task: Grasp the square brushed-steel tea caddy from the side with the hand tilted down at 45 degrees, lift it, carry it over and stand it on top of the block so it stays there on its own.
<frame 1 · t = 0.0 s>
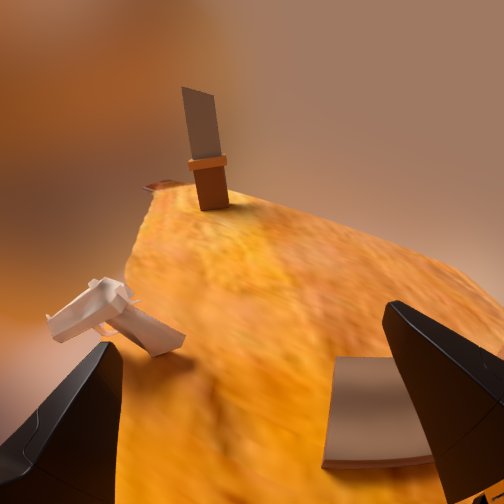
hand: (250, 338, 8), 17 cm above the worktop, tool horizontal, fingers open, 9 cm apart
block: (382, 419, 19), on the worktop
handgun: (110, 345, 30), on the worktop
knife: (215, 207, 67), on the worktop
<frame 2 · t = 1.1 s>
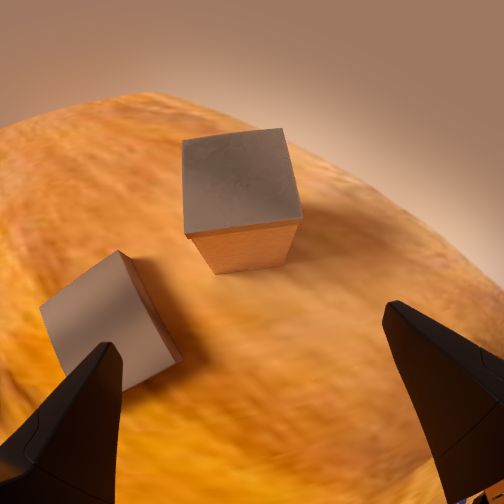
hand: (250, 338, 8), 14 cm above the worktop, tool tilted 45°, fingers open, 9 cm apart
tin: (244, 237, 24), on the worktop
block: (112, 334, 22), on the worktop
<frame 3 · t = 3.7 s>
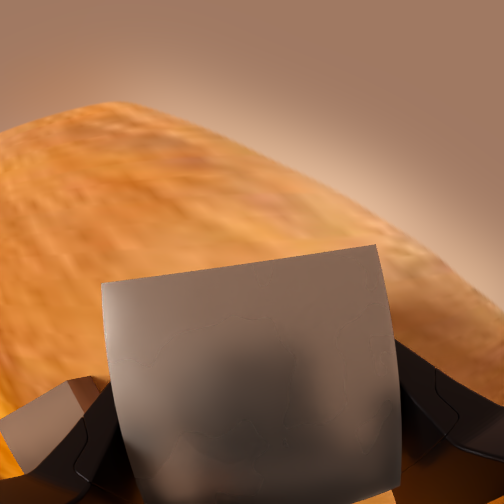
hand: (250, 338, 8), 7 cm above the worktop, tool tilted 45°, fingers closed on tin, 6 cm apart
tin: (255, 359, 14), on the worktop, touching gripper
block: (86, 460, 12), on the worktop
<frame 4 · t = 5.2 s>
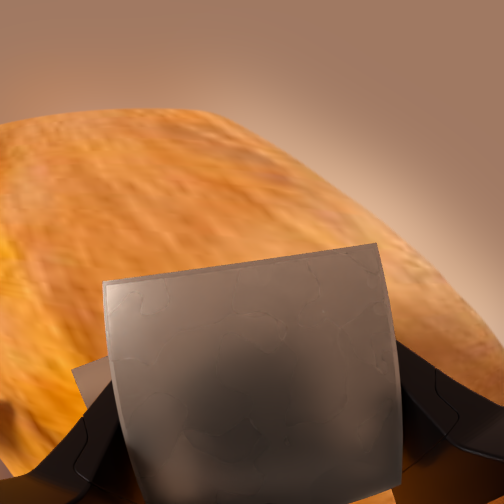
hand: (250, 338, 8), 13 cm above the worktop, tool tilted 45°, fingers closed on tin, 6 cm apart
tin: (256, 358, 14), point 7 cm above the worktop, touching gripper
block: (156, 403, 20), on the worktop
when the fingers open (10 cm above the worktop, at t = 6.9 s): tin drops 1 cm, resting on block.
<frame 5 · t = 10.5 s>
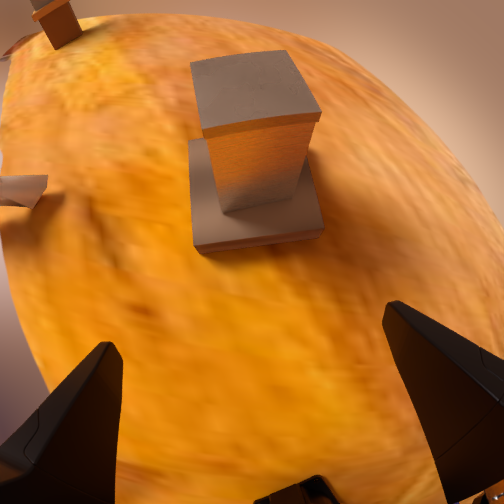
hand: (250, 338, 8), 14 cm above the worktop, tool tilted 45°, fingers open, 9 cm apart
tin: (249, 175, 22), point 2 cm above the worktop, touching block
block: (251, 195, 25), on the worktop, touching tin
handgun: (2, 221, 25), on the worktop
knife: (68, 40, 36), on the worktop
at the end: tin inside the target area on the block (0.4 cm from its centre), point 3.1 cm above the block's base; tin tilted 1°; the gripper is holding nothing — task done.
